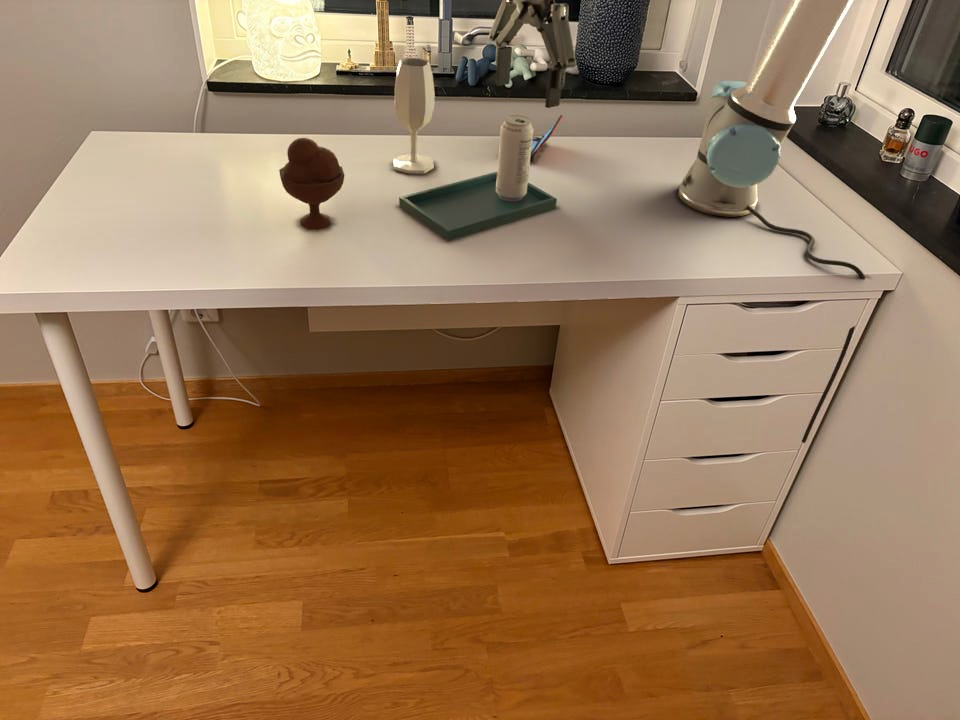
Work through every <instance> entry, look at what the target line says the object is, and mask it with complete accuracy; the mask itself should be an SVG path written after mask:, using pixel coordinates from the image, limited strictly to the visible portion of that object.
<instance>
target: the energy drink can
mask: <svg viewBox="0 0 960 720" xmlns="http://www.w3.org/2000/svg"><path fill="white" fill-rule="evenodd" d="M533 137H534V128H533V126H532V120H531V118H529V117H527V116H524V115H518V114H514V115H507V116H506V117H504V122H503V123H502V124H501V126H500V133H499V146H498V157H497V168H496V170H497V171H496V172H497V181H496V192H497V193H498V196H499V197H500V198H501V199H503V200H506V201H519V200H521V199H523V196H525V195H526V193H527V184H528V183H529V175H530V166H531V162H530V157H531V148H532V138H533Z"/></svg>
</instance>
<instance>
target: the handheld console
mask: <svg viewBox="0 0 960 720" xmlns="http://www.w3.org/2000/svg"><path fill="white" fill-rule="evenodd" d="M562 118H563V114H560V115H559V117H558V118H557V119H556V121H555V122H554V123H553V125H552V126H551V127H550V128H549V129H548V130H547V132H546V133H545V134H544V135H542V136H541V137H539V136H533V138H532V148H531V157H530V163H533V162H534V161H535V160H536V158H537V156H538V154H539V152H540V150H541V149H542V148H543V147H544V145H545V144H546V143H547V141H548V140H549V139H550V138H551V136H552V135H553V133H554V132H555V130H556V129H557V127H558V125H559V124H560V122H561V120H562Z"/></svg>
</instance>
